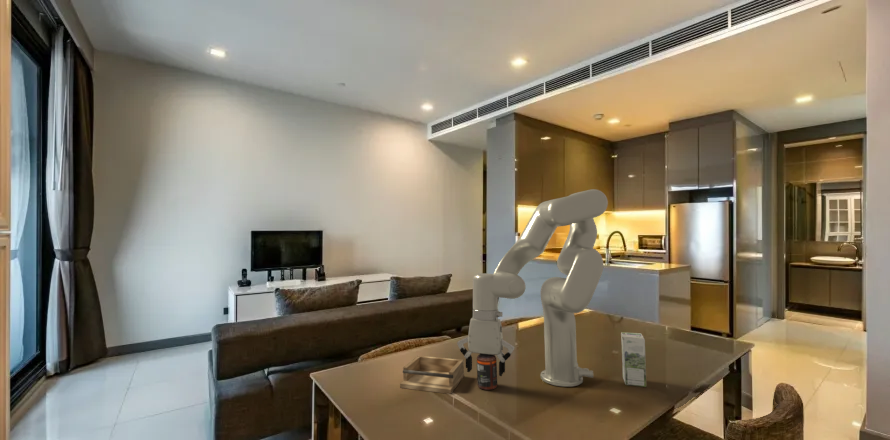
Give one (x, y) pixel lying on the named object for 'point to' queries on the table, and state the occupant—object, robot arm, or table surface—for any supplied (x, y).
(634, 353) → the syrup box
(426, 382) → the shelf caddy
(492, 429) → the table surface
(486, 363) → the supplement bottle
